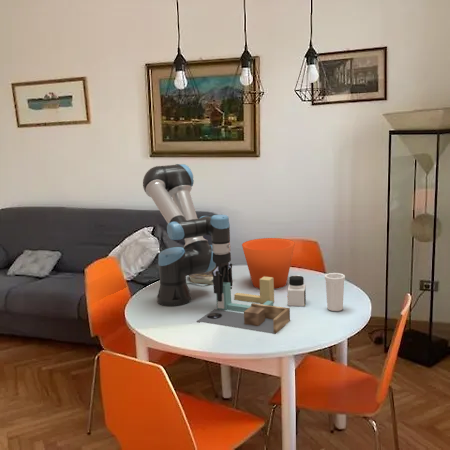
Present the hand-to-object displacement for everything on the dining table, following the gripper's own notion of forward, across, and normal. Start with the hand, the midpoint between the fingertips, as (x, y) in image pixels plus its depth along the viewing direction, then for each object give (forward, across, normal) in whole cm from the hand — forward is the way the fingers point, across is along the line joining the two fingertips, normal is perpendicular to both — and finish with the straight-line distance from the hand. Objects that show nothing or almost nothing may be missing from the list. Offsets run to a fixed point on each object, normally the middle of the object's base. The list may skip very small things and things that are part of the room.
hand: (224, 305), depth 223 cm
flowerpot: (+1, +38, -4) cm, 38 cm away
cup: (+1, +16, -43) cm, 46 cm away
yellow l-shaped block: (+1, +13, -8) cm, 15 cm away
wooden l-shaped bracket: (+1, -10, -23) cm, 25 cm away
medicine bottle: (+1, +17, -26) cm, 31 cm away
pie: (+2, +37, +29) cm, 47 cm away
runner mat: (+1, -10, -14) cm, 17 cm away
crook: (+1, +4, -8) cm, 9 cm away
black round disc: (+1, -10, -1) cm, 10 cm away
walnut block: (+1, -10, -19) cm, 21 cm away
